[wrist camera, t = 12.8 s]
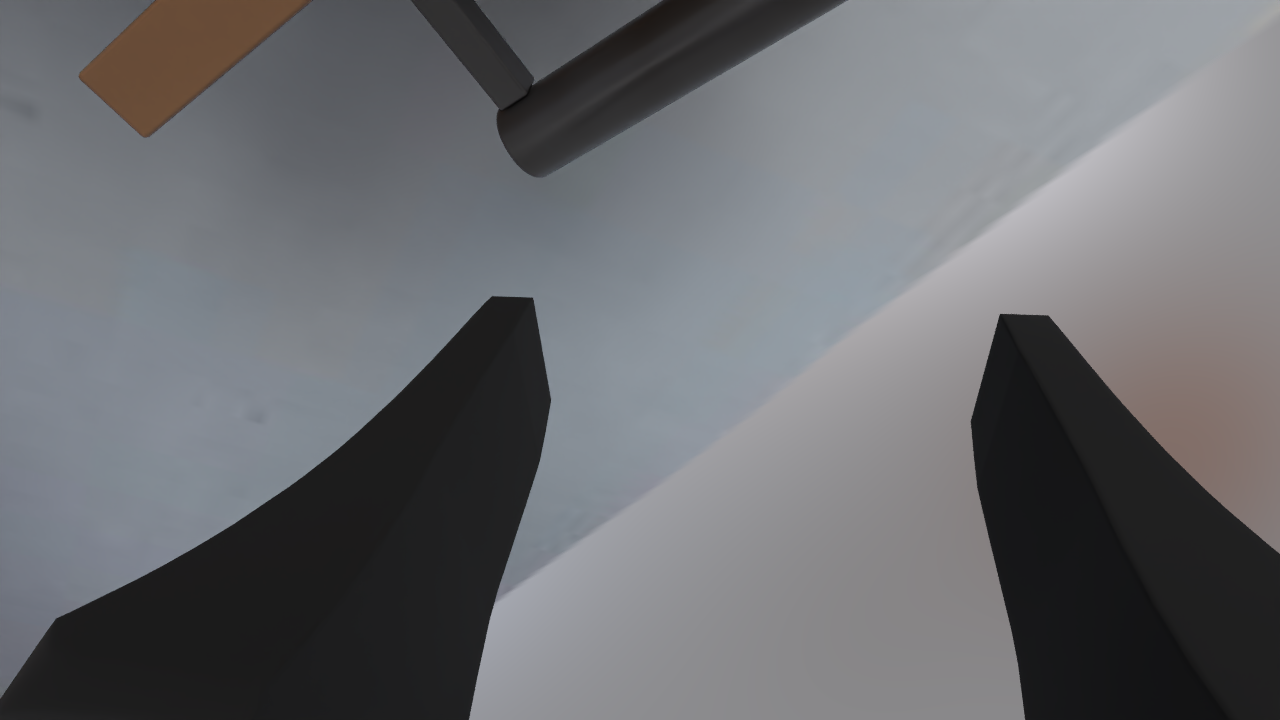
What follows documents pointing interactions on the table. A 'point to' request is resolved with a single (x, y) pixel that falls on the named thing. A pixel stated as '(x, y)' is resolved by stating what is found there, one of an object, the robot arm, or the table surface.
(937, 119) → the table surface
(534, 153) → the drawer
